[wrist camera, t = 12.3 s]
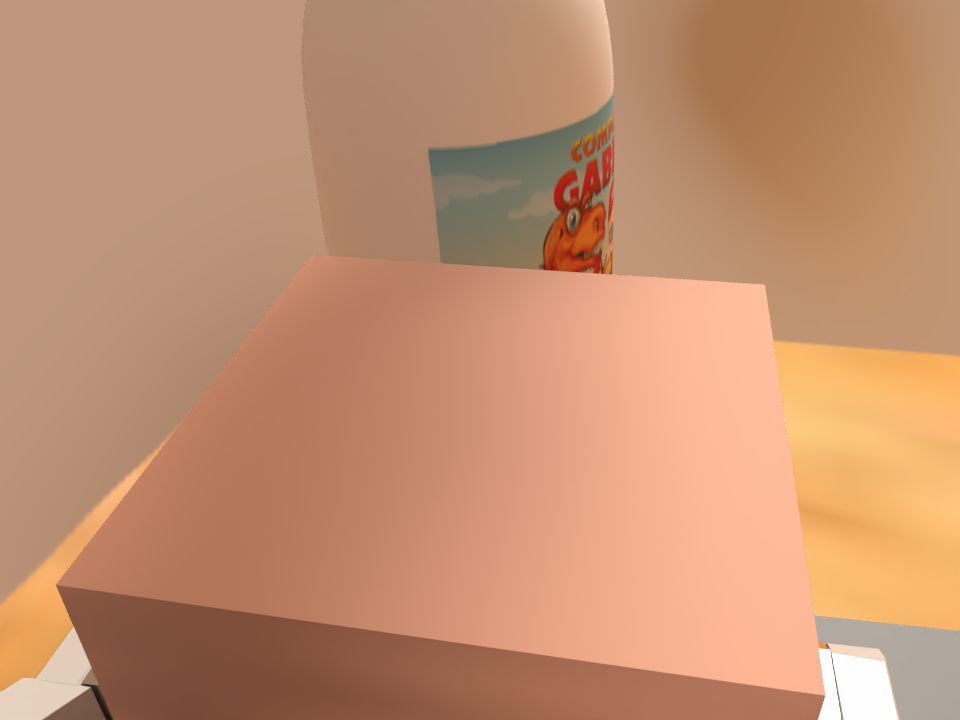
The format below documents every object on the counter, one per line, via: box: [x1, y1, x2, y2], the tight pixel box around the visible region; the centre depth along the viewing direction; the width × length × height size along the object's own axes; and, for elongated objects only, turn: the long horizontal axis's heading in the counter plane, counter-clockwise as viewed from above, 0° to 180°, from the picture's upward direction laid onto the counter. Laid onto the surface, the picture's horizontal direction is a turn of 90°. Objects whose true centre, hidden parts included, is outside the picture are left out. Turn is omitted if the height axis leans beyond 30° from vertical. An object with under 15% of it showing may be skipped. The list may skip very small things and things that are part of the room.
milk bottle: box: [302, 0, 614, 275], centre depth 22 cm, size 8×8×20 cm
